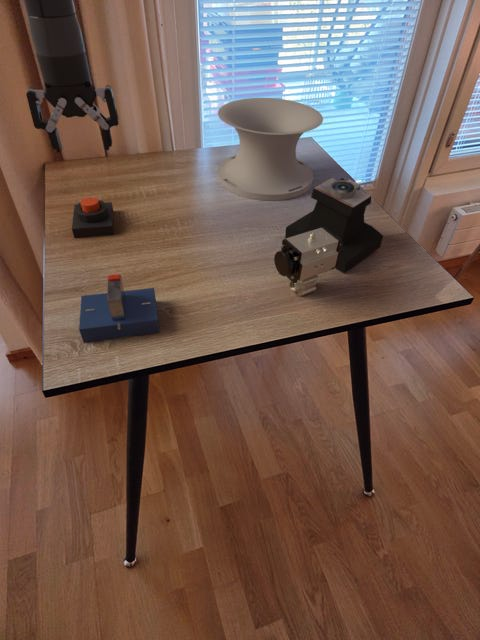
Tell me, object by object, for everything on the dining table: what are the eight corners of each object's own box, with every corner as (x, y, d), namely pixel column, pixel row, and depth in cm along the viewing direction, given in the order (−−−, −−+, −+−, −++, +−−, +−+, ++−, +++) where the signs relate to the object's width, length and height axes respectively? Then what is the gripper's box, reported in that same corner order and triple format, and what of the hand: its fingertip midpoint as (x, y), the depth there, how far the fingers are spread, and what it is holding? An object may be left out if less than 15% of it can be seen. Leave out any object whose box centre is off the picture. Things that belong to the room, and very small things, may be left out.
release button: (82, 213, 87) (80, 206, 85) (82, 205, 89) (80, 197, 88) (99, 212, 87) (98, 204, 86) (100, 204, 90) (98, 196, 88)
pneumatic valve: (269, 291, 77) (276, 235, 68) (319, 273, 81) (331, 218, 73) (286, 309, 73) (295, 253, 65) (337, 289, 78) (352, 234, 69)
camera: (288, 181, 80) (338, 154, 86) (285, 242, 90) (329, 214, 97) (356, 214, 71) (405, 182, 78) (343, 277, 82) (387, 244, 89)
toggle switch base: (83, 347, 65) (78, 333, 63) (85, 304, 72) (81, 290, 70) (160, 337, 67) (158, 323, 65) (155, 296, 74) (153, 282, 72)
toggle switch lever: (125, 319, 66) (120, 297, 63) (112, 320, 65) (107, 299, 62) (124, 294, 70) (120, 273, 67) (112, 295, 70) (107, 274, 66)
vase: (325, 171, 114) (337, 110, 103) (289, 210, 98) (299, 143, 87) (245, 150, 122) (247, 91, 111) (199, 183, 106) (197, 119, 95)
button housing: (74, 238, 86) (69, 221, 84) (76, 213, 93) (72, 197, 91) (113, 234, 88) (110, 217, 85) (113, 210, 95) (110, 194, 92)
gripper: (7, 55, 62) (41, 160, 74) (105, 53, 65) (123, 156, 76) (16, 43, 67) (46, 143, 79) (106, 41, 70) (123, 139, 81)
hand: (84, 149), depth 78 cm, fingers open, 8 cm apart
